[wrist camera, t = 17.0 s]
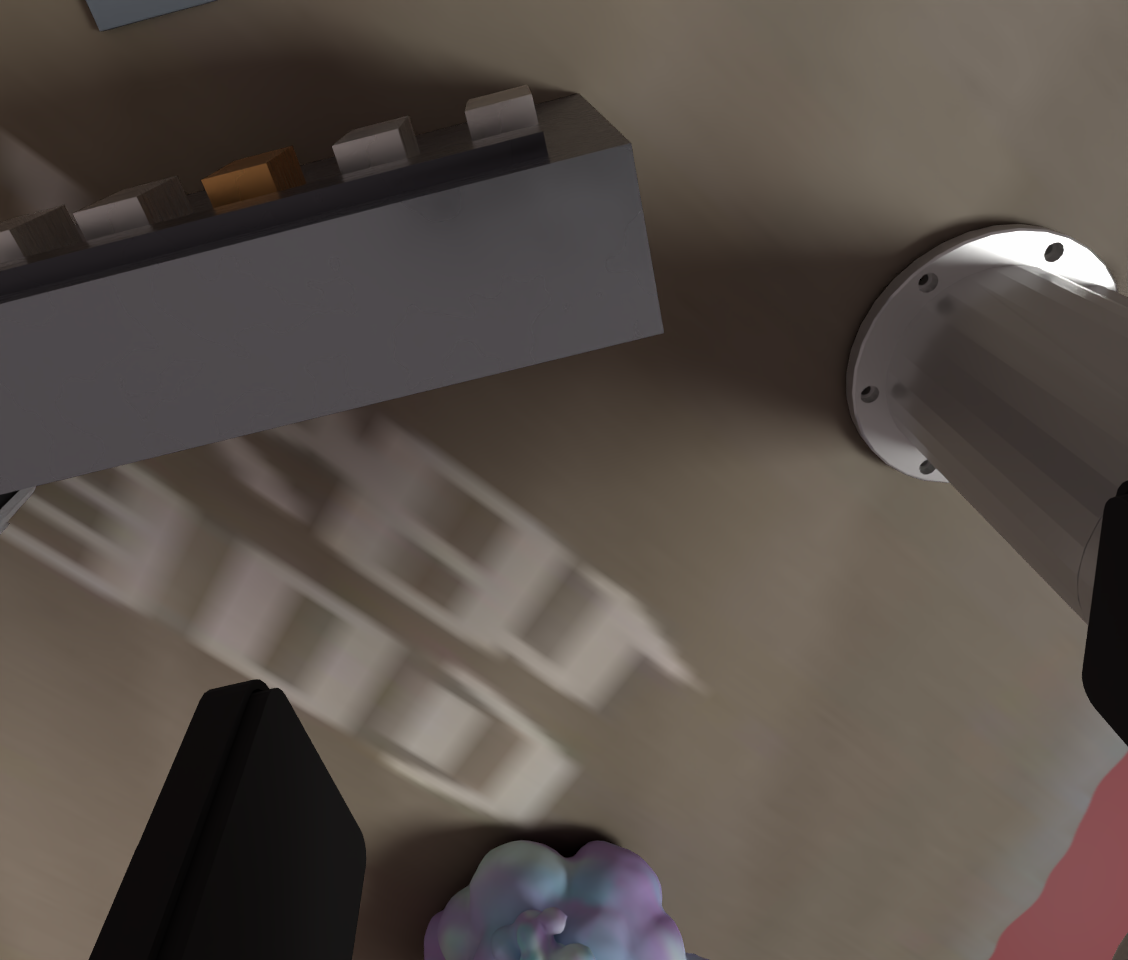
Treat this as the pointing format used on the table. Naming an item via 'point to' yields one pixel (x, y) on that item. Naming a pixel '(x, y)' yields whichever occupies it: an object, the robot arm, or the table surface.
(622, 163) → the breaker box
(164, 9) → the mat
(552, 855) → the grape bunch
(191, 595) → the table surface
